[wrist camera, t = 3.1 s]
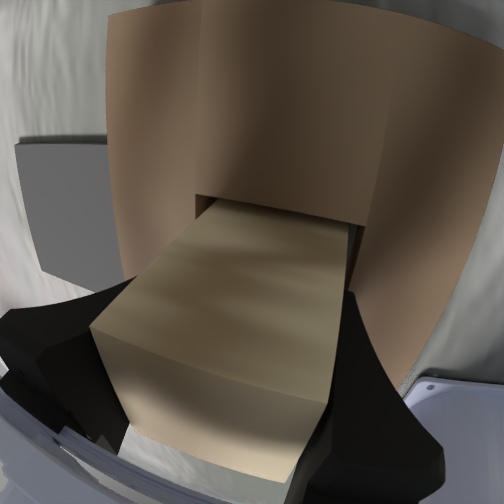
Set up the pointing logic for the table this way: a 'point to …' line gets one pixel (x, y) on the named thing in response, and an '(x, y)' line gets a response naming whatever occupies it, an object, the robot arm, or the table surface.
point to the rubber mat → (71, 211)
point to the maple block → (231, 336)
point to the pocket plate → (310, 139)
